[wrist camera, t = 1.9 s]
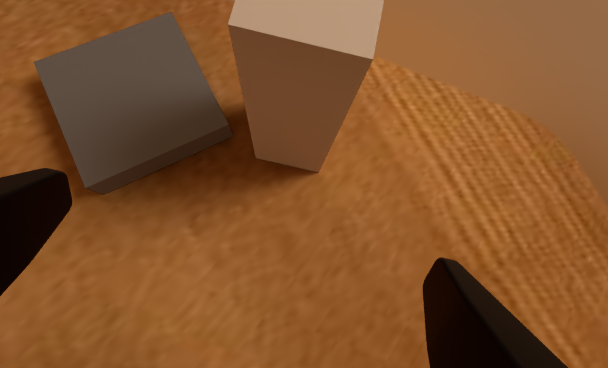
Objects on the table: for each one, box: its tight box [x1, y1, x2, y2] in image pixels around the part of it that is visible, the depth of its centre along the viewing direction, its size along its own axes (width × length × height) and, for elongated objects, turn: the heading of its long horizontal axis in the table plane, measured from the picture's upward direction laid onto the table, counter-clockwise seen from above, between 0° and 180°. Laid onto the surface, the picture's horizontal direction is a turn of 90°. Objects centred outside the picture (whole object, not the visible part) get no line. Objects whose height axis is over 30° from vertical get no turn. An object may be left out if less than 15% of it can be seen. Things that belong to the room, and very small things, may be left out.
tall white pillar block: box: [228, 0, 384, 172], centre depth 17 cm, size 4×4×13 cm
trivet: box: [34, 12, 233, 195], centre depth 21 cm, size 9×9×2 cm
